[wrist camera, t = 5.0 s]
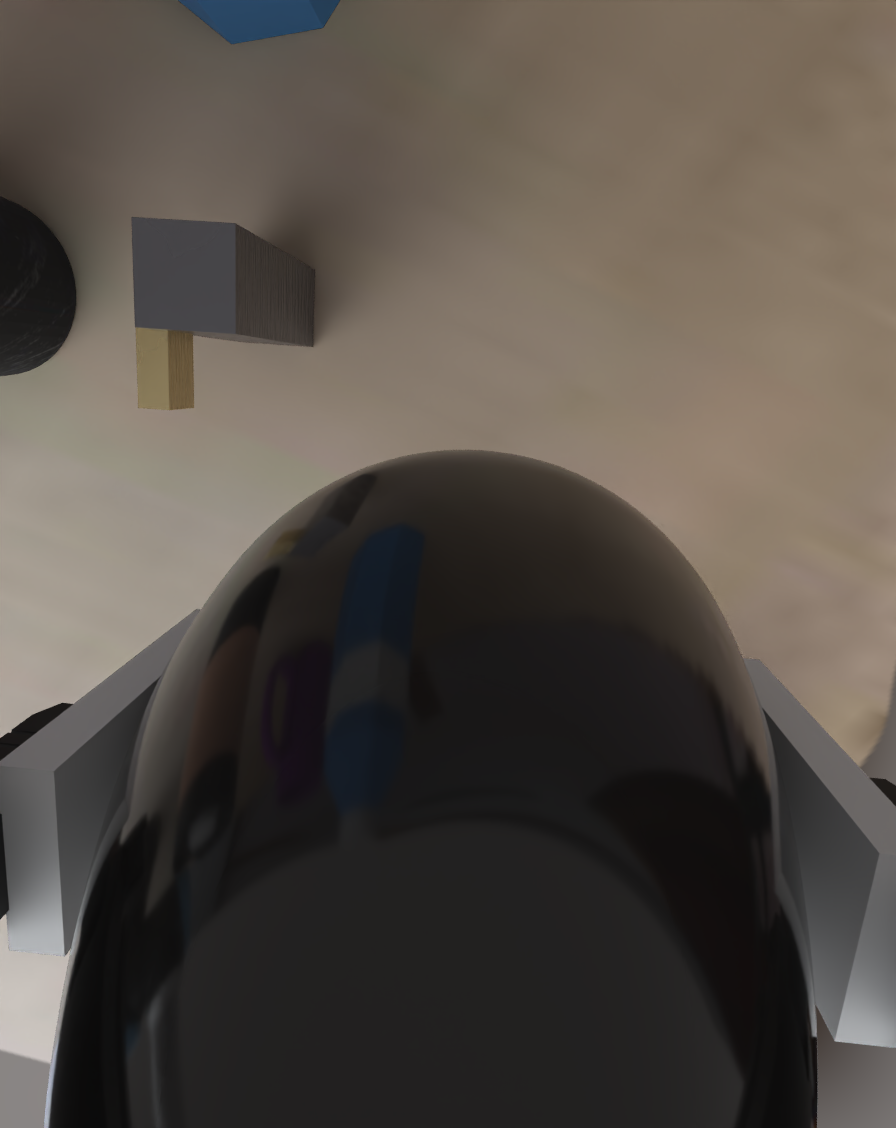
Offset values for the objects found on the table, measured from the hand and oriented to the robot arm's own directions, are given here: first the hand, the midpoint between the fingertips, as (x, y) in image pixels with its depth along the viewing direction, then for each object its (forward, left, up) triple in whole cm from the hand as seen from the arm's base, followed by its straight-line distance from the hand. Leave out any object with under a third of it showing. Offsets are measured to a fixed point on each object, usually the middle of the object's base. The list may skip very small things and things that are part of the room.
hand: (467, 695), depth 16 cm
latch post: (-9, +7, -18) cm, 21 cm away
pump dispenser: (0, 0, -3) cm, 3 cm away
